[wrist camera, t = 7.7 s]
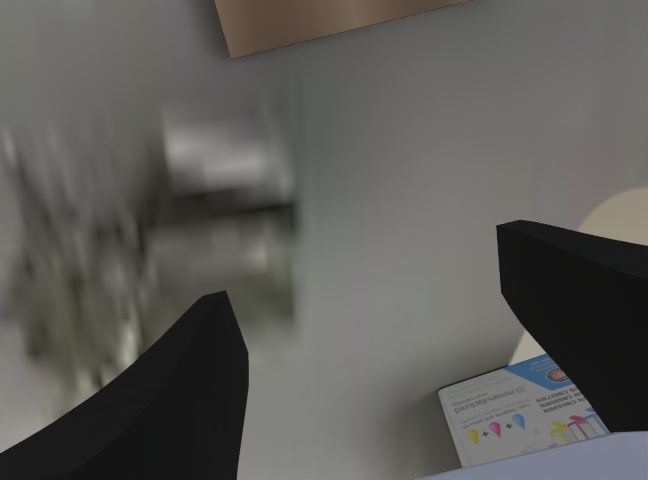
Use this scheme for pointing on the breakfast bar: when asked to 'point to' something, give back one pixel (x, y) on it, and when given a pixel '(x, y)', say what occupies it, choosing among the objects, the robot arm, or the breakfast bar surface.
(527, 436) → the ink box
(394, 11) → the walnut base
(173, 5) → the breakfast bar surface
